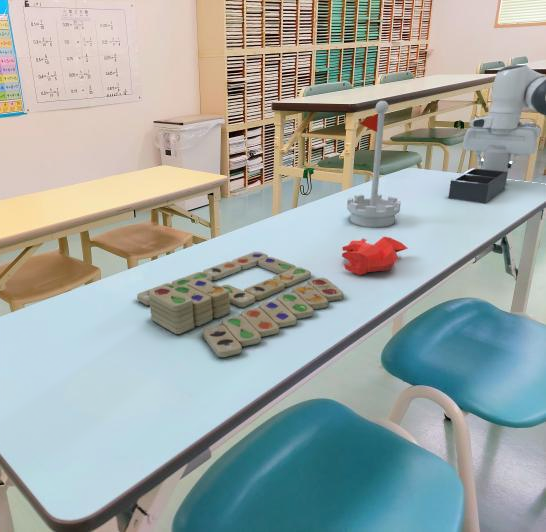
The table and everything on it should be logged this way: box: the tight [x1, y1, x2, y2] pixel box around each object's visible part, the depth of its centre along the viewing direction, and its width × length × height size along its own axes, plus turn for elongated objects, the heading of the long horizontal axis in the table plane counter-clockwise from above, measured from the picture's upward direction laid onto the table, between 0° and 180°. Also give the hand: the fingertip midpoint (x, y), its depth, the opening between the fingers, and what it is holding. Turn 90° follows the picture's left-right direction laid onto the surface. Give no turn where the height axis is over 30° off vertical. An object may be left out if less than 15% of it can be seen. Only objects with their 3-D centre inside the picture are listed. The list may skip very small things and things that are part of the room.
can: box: [481, 146, 512, 173], centre depth 164 cm, size 8×8×12 cm
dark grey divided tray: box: [448, 167, 509, 204], centre depth 154 cm, size 10×19×5 cm, turn 138°
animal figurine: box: [341, 236, 409, 276], centre depth 108 cm, size 12×15×5 cm
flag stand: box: [346, 100, 402, 228], centre depth 130 cm, size 13×13×30 cm
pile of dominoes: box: [136, 251, 344, 358], centre depth 95 cm, size 35×27×6 cm
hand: (494, 166), depth 164 cm, fingers closed on can, 7 cm apart
